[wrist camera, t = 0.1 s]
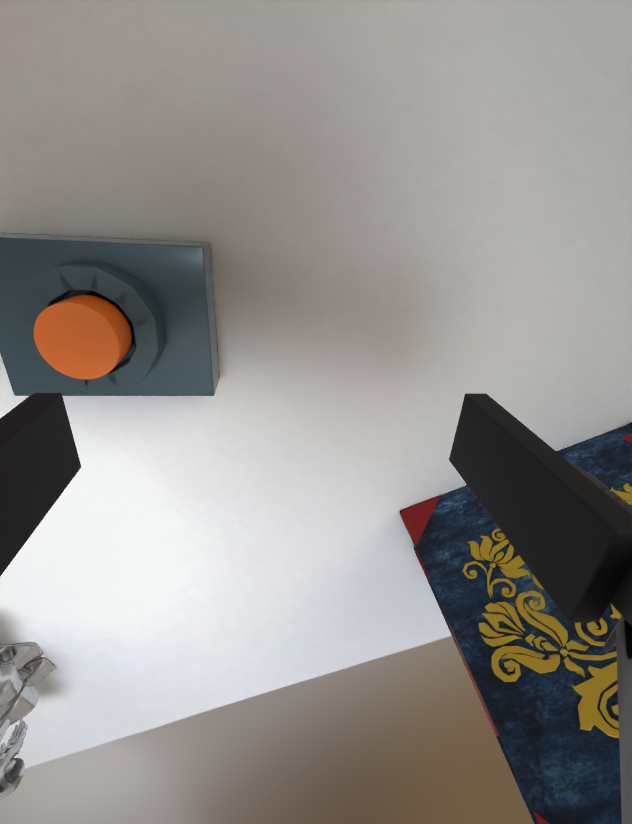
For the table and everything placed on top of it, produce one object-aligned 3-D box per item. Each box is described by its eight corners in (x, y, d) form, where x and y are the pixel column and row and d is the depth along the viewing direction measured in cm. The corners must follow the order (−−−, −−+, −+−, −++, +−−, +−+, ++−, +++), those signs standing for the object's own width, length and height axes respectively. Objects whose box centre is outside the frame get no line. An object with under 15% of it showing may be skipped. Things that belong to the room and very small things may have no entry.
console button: (63, 366, 22) (44, 379, 20) (44, 293, 20) (22, 301, 18) (137, 366, 22) (126, 380, 21) (125, 295, 21) (111, 303, 19)
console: (41, 376, 27) (-5, 409, 22) (-1, 232, 23) (-66, 237, 18) (219, 377, 28) (210, 408, 24) (210, 242, 24) (197, 249, 20)
